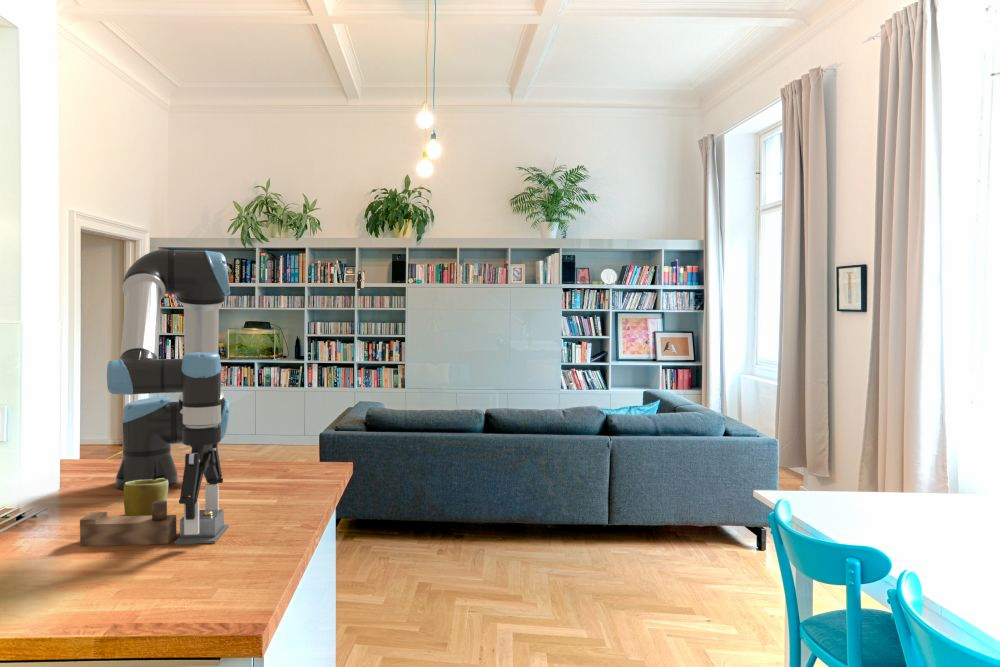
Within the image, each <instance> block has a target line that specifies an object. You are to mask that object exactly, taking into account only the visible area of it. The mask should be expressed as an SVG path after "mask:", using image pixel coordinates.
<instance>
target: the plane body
mask: <svg viewBox="0 0 1000 667" xmlns="http://www.w3.org/2000/svg"><path fill="white" fill-rule="evenodd" d="M176 537H177V514H168V501H155V502H153V503H152V515H151V516H125V515H121V516H120V515H118V516H116V515H115V516H114V515H110V516H108V512H107V511H92V512H90V513H88V514H87V515H85V516H84V517H82V518H81V519H79V542H80V543H79V544H80V545H79V546H80V547H103V546H106V547H107V546H109V547H110V546H138V545H139V546H140V545H142V546H143V545H168V544H169V543H170V542H172V541H173V540H174V539H175V538H176Z"/></svg>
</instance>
